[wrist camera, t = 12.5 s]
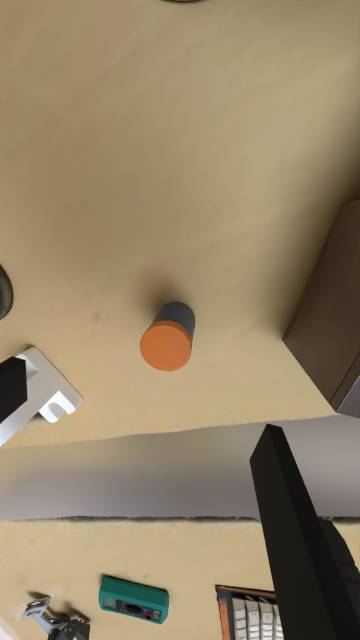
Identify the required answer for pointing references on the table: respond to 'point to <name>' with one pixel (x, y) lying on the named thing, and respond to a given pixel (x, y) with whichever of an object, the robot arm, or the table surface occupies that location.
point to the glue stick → (169, 338)
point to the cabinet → (333, 317)
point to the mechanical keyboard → (248, 614)
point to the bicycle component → (57, 623)
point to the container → (5, 294)
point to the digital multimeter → (133, 600)
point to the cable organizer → (41, 394)
